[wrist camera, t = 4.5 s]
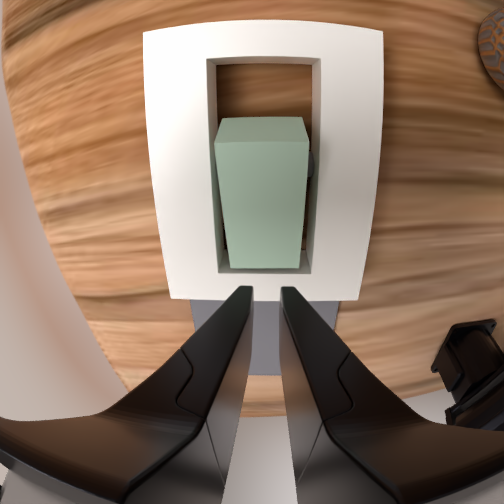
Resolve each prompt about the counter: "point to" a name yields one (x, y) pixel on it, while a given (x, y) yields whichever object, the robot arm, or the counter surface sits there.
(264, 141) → the sage block
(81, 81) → the counter surface
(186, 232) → the white rectangular frame
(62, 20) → the counter surface
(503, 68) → the vase
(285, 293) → the robot arm
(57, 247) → the counter surface
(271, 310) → the rubber mat
